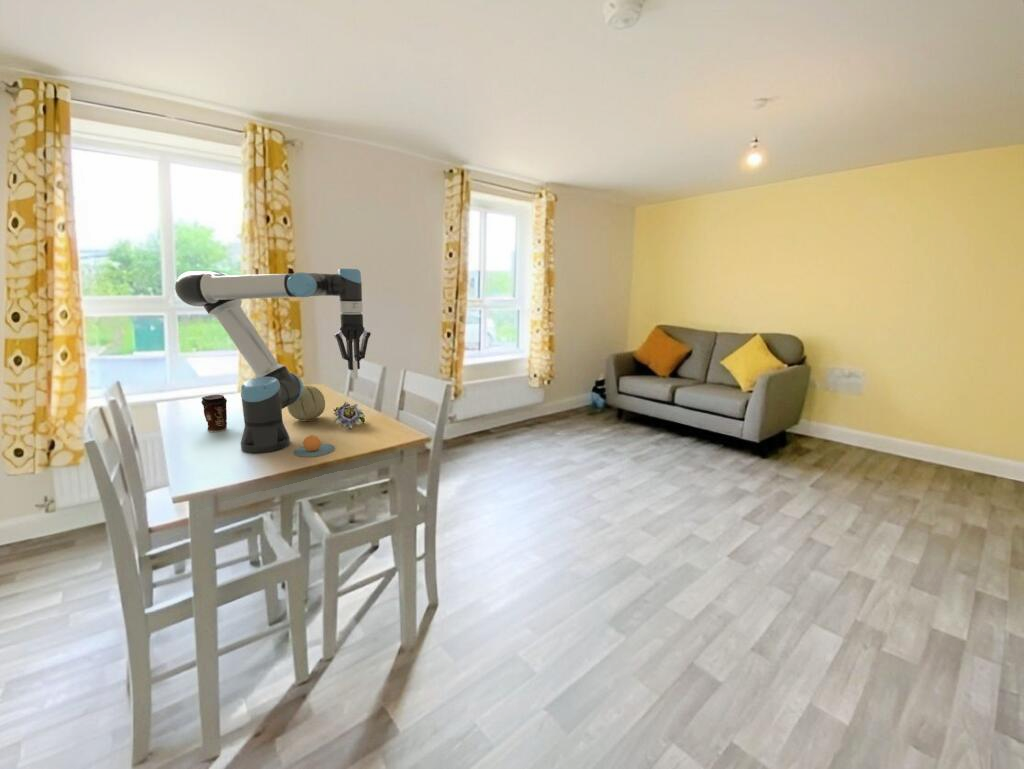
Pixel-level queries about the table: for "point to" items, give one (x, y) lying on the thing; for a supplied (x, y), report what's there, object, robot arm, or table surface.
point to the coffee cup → (215, 412)
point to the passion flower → (349, 415)
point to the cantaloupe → (308, 404)
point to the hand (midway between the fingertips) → (354, 378)
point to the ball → (311, 443)
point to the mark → (321, 451)
